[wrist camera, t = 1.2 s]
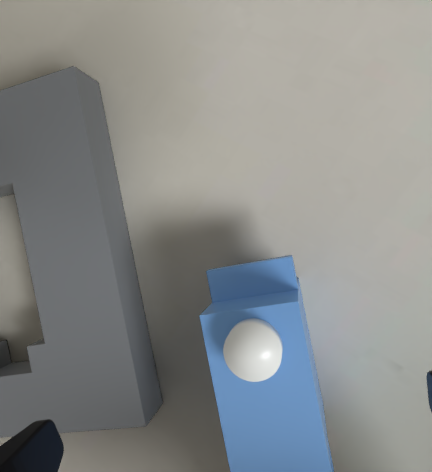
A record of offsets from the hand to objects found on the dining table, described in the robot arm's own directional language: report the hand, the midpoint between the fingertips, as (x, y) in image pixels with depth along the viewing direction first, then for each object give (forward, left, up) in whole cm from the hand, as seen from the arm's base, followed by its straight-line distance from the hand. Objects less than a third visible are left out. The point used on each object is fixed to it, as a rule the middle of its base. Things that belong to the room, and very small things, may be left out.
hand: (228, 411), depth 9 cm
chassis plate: (+4, +15, -11) cm, 19 cm away
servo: (-3, 0, -11) cm, 12 cm away
